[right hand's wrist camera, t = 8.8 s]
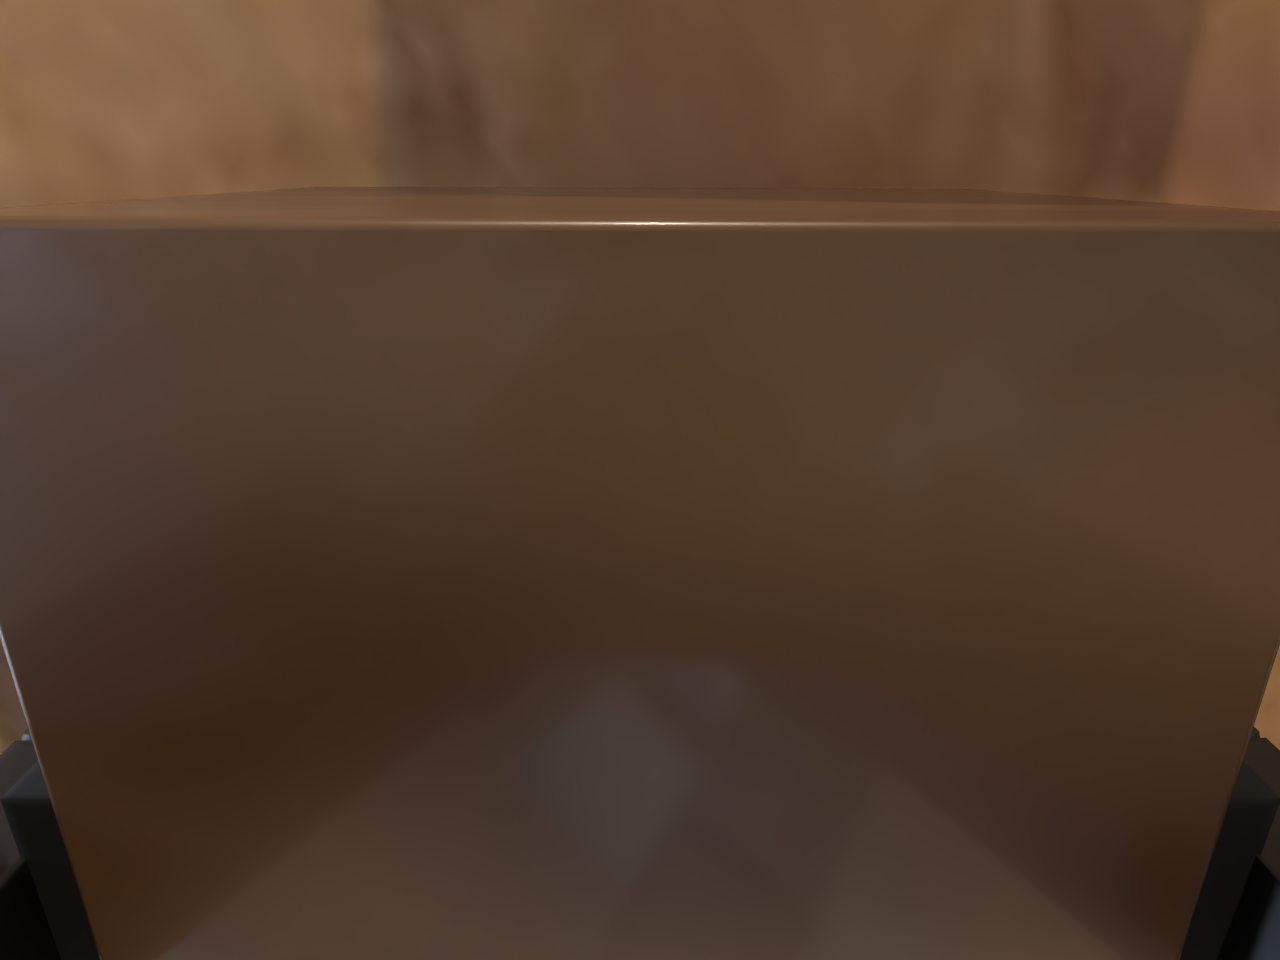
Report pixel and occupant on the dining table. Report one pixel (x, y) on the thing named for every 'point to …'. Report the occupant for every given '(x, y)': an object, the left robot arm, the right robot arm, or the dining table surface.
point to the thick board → (639, 567)
